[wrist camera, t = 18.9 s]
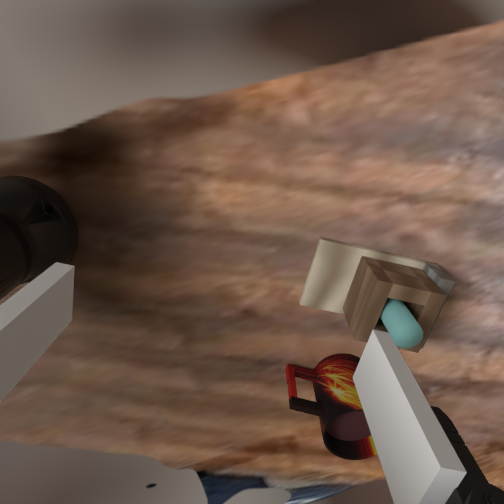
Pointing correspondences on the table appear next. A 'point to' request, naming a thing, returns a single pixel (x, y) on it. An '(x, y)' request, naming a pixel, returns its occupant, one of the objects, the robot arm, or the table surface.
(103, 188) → the table surface
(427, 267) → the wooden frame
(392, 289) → the block
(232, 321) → the table surface
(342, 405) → the mug
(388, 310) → the dowel
